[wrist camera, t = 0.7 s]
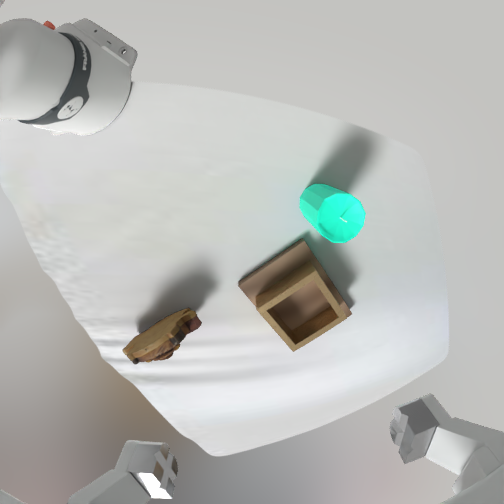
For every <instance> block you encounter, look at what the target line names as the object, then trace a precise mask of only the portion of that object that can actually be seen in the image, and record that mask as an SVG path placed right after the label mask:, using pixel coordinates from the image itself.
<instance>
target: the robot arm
mask: <svg viewBox="0 0 504 504" xmlns="http://www.w3.org/2000/svg"><path fill="white" fill-rule="evenodd" d="M4 1H5V0H0V6H1V5H2V4H3V3H4ZM54 29H55V26H54V25H53V24H52V23H51V22H49V21H46V22H45V23H44V24H41V23H38V22H36V21H34V20H32V19H27V18H22V19H13V20H9V21H7V22H4V23H2V24H0V120H18V121H20V122H22V123H26V124H31V125H33V126H34V127H38V128H43V129H48V130H49V131H50V133H51V134H52V135H62V134H66V133H72V134H76V135H90V134H93V133H96V132H98V131H100V130H102V129H104V128H105V127H107V126H108V125H109V124H110V123H111V122H112V121H113V120H114V119H115V118H116V117H117V116H118V115H119V113H120V112H121V110H122V109H123V107H124V105H125V103H126V101H127V98H128V95H129V92H130V87H131V70H132V68H133V65H134V63H135V61H136V58H137V51H136V50H134V49H133V48H132V47H130V46H128V45H127V44H126V43H124V42H123V41H121V40H120V39H118V38H117V37H115V36H114V35H112V34H111V33H109V32H108V31H106V30H105V29H103V28H102V27H100V26H98V25H97V24H95V23H93V22H92V21H90V20H88V19H82V20H80V21H77V22H75V23H74V24H71V23H66V24H63V25H61V26H59V27H58V28H56V29H55V30H54ZM125 50H126V53H124V54H123V52H124V51H125ZM392 415H393V416H394V419H393V420H392V421H391V424H390V434H391V437H392V440H393V442H394V444H396V445H398V446H400V449H399V454H400V456H401V458H402V460H403V462H404V463H405V464H406V463H408V462H411V461H414V460H417V459H419V458H422V457H424V456H425V457H426V458H428V459H429V460H431V461H433V462H435V463H437V464H438V465H440V466H442V467H444V468H446V469H448V470H450V471H452V472H454V473H456V474H458V475H459V477H458V479H457V480H456V481H455V483H454V485H453V486H452V490H453V492H454V494H455V496H453V497H451V498H450V499H448V500H446V501H444V502H442V503H440V504H504V433H503V432H502V431H498V430H495V429H491V428H488V427H484V426H481V425H478V424H474V423H471V422H468V421H465V420H462V419H459V418H453V419H452V418H451V417H450V415H449V414H448V413H447V412H446V410H445V409H444V408H443V407H442V406H441V404H440V403H439V402H438V400H437V399H436V398H435V397H434V395H432V394H428V395H425V396H423V397H420V398H417V399H415V400H412V401H410V402H407V403H404V404H402V405H399V406H396V407H395V408H394V409H393V413H392ZM169 449H170V448H169V447H168V445H167V443H159V442H146V441H133V440H128V441H127V442H126V443H125V445H124V447H123V450H122V452H121V454H120V457H119V459H118V462H117V464H116V467H115V469H114V470H109V471H108V472H107V473H105V474H104V475H102V476H101V477H99V478H98V479H96V480H95V481H94V482H92V483H90V484H89V485H87V486H86V487H84V488H83V489H81V490H79V491H78V492H76V493H75V494H73V495H72V496H70V498H69V500H68V503H67V504H146V503H147V502H148V501H149V500H150V499H151V497H155V498H168V499H172V497H173V492H174V487H175V485H174V483H173V482H172V480H173V479H175V478H176V477H177V472H178V465H177V461H176V458H175V456H173V455H172V454H171V453H169ZM0 504H26V503H24V502H23V501H21V500H19V499H17V498H15V497H14V496H12V495H10V494H9V493H7V492H5V491H3V490H1V489H0Z"/></svg>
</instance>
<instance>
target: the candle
mask: <svg viewBox="0 0 504 504" xmlns="http://www.w3.org/2000/svg"><path fill="white" fill-rule="evenodd" d="M300 210H301V211H302V213H303V215H304V217H305V218H306V219H307V220H308V221H309V222H310V223H311V224H312V225H313V226H314V228H315V229H316V230H317V231H318V232H319V233H320V234H321V235H322V236H323V237H325V238H326V239H328V240H329V241H331V242H333V243H346V242H347V241H349V240H351V239H352V238H354V237H355V236H356V235H357V234H358V233H359V231H360V230H361V228H362V227H363V225H364V220H365V214H366V213H365V211H364V209H363V207H362V204H361V202H360V201H359V200H358V199H356V198H355V197H353V196H352V195H351V194H349V193H346V192H344V191H341V190H339V189H336V188H334V187H331V186H329V185H326V184H313V185H311V186H309V187H307V188H306V189H305V190H304V192H303V194H302V195H301V197H300Z"/></svg>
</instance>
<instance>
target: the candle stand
mask: <svg viewBox="0 0 504 504" xmlns="http://www.w3.org/2000/svg"><path fill="white" fill-rule="evenodd" d="M238 286H239V287H240V289H241V290H242V291H243V292H244V293H245V295H246V296H247V297H248V298H249V299H250V300H251V302H252V303H253V304H254V305H255V306H256V309H257V311H258V312H259V313H260V314H261V315H262V317H263V318H264V319H265V320H266V321H267V322H268V323H269V325H270V326H271V327H272V328H273V329H274V330H275V332H276V333H277V334H278V335H279V336H280V337H281V338H282V340H283V341H284V342H285V343H286V344H287V345H288V346H289V348H290V349H291V350H292V351H293V352H294V351H296V350H297V349H299V348H301V347H302V346H304V345H306V344H307V343H309V342H311V341H312V340H314V339H315V338H317V337H319V336H320V335H322V334H323V333H325V332H327V331H328V330H330V329H331V328H333V327H334V326H336V325H337V324H339V323H341V322H342V321H344V320H345V319H347V317H349V316H350V315H352V313H351V311H350V309H349V308H348V306H347V305H346V303H345V302H344V300H343V298H342V297H341V295H340V294H339V292H338V291H337V289H336V288H335V286H334V285H333V283H332V281H331V280H330V278H329V277H328V275H327V274H326V272H325V271H324V269H323V268H322V266H321V265H320V263H319V262H318V260H317V259H316V257H315V256H314V254H313V253H312V251H311V250H310V248H309V247H308V245H307V244H306V243H305V241H304V240H303V238H302V239H300V240H299V241H298V242H296V243H295V244H293V245H292V246H290V247H289V248H287V249H286V250H285V251H283V252H282V253H280V254H279V255H277V256H276V257H274V258H273V259H271V260H270V261H269V262H267V263H266V264H264V265H263V266H261V267H260V268H258V269H257V270H255V271H254V272H252V273H251V274H250V275H248V276H247V277H245V278H244V279H242V280H241V281H239V283H238Z"/></svg>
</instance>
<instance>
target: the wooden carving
mask: <svg viewBox="0 0 504 504" xmlns="http://www.w3.org/2000/svg"><path fill="white" fill-rule="evenodd" d="M201 323H202V322H201V321H200V320H199V318H198V317H197V314H196V312H195V311H191V310H190V308H186V309H184V310H181V311H178V312H176V313H174V314H172V315H170V316H168V317H166V318H164V319H162V320H161V321H159V322H157V323H156V324H154V325H153V326H152V327H150V328H149V329H148V330H146V331H145V332H143V333H141V334H139V335H137V336H136V337H135V338H133V339H132V341H131V342H130V343H129V344H128V345H127V346H126V347H125V348H124V349H123V352H124V354H125V355H127V357H128V358H129V359H130V360H131V361H132V362H133V363H134V364H137V363H139V362H145V361H146V362H151V361H152V360H154V361H156V360H165V359H168V358H170V357H171V356H172V355H173V352H174V350H175V351H176V350H177V349H178V348H179V347H180V344H179V343H180V342H181V341H182V340H183V339H184V338H185V336H186V335H187V334H189V333H191V332H193V331H194V330H196V329H198V328H199V327H200V326H201Z"/></svg>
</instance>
